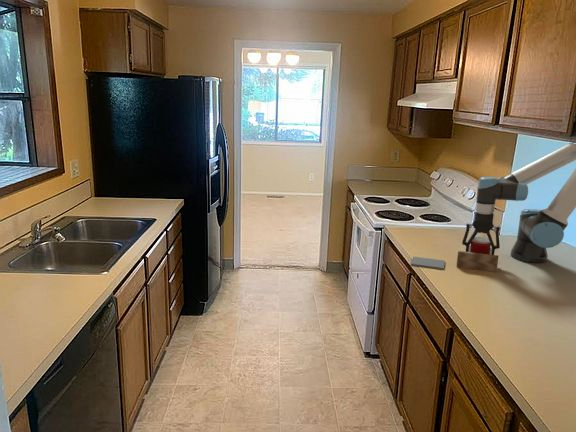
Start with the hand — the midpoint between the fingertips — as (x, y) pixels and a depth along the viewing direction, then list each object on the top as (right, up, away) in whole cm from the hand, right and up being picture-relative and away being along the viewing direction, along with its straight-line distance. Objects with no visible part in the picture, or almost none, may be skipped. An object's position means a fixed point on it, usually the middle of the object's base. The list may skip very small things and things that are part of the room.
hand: (478, 261), depth 196 cm
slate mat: (-23, -1, -1) cm, 23 cm away
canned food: (0, -1, 0) cm, 1 cm away
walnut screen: (-4, -3, -7) cm, 9 cm away
